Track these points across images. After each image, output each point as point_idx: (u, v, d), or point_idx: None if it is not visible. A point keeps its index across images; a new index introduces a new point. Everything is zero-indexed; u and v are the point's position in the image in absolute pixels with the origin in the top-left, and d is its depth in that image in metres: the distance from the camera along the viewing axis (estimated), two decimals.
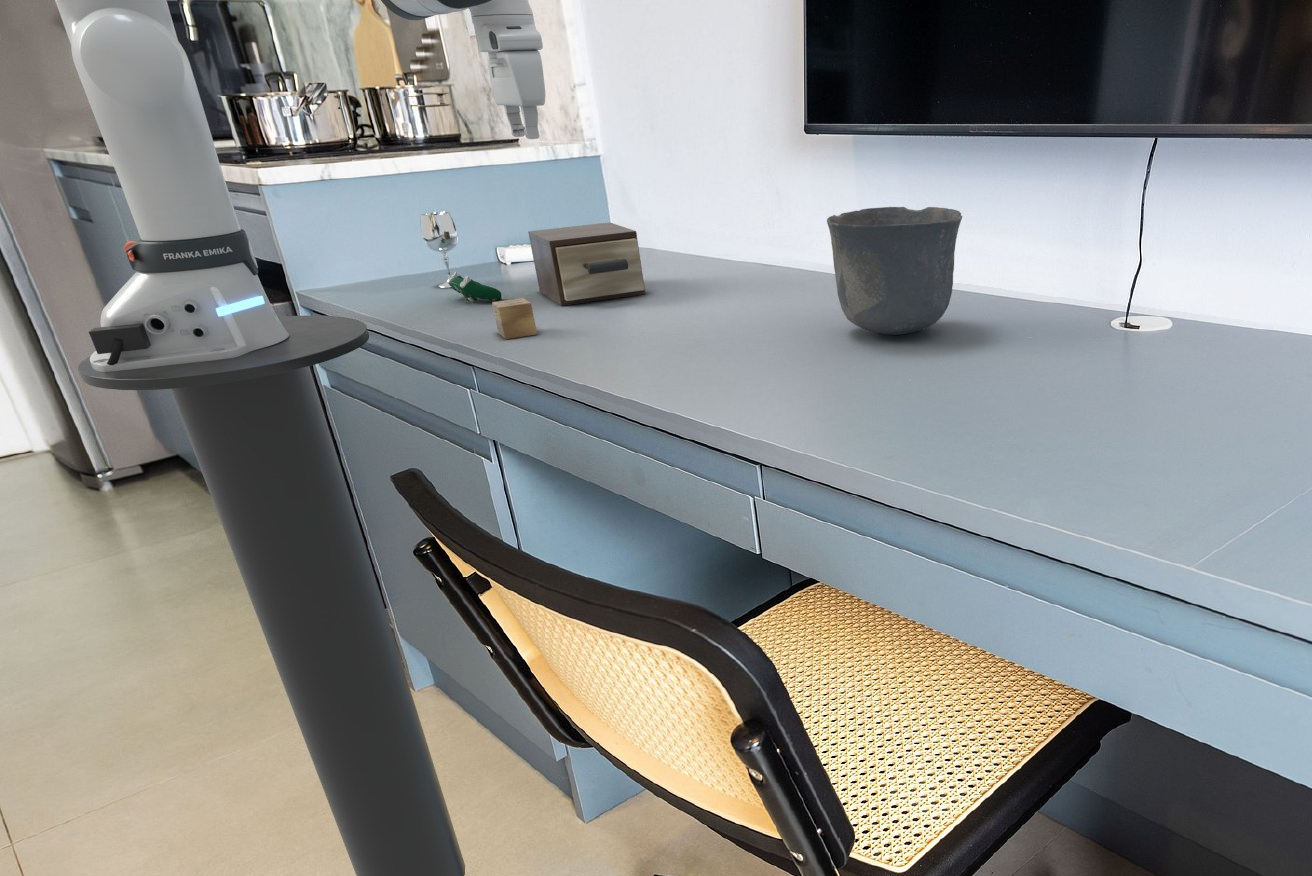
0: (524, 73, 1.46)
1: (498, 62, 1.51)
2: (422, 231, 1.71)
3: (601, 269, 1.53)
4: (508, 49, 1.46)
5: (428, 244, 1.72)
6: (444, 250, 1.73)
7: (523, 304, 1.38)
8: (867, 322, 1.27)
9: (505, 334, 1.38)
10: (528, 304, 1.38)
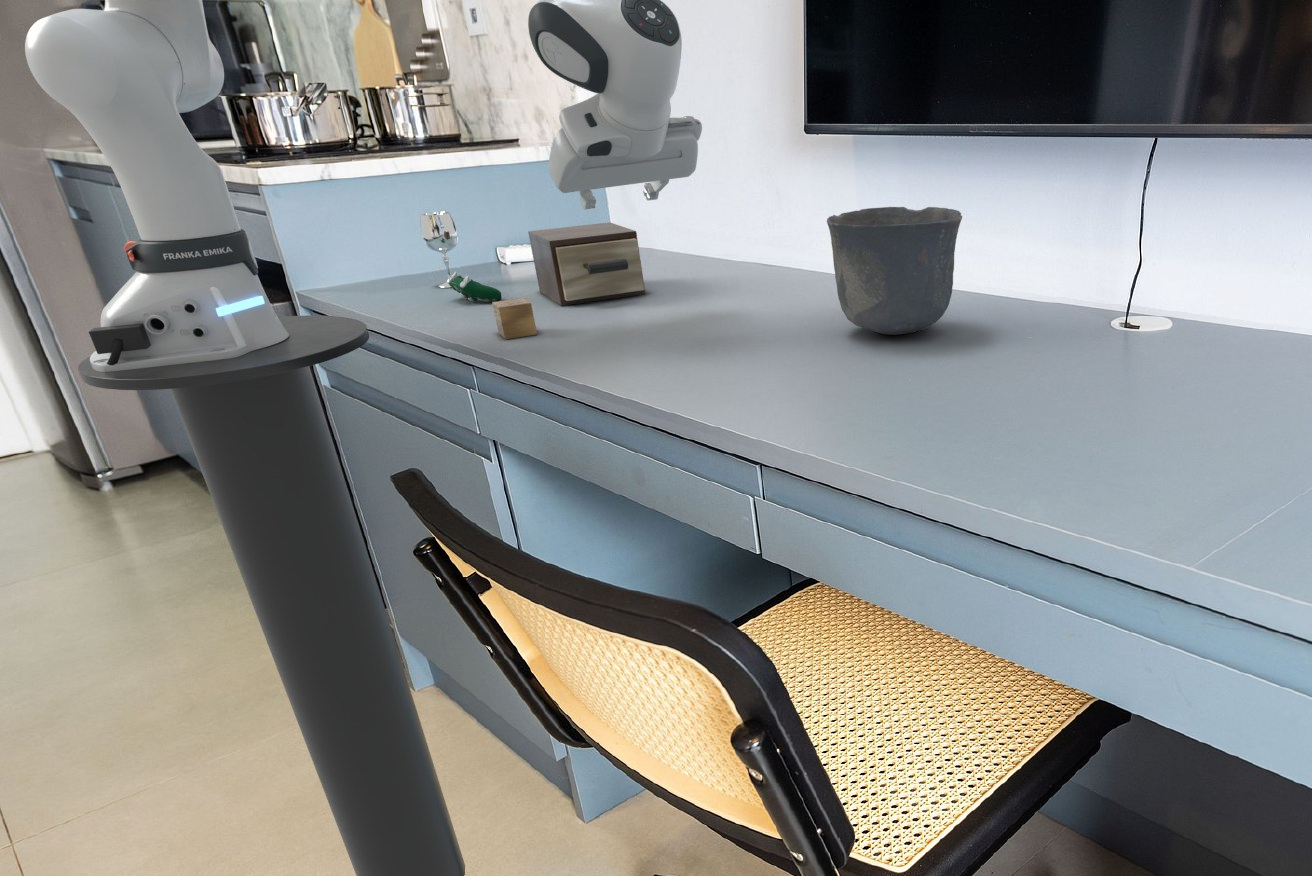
0: (554, 156, 1.29)
1: None
2: (422, 231, 1.71)
3: (601, 269, 1.53)
4: None
5: (428, 244, 1.72)
6: (444, 250, 1.73)
7: (523, 304, 1.38)
8: (867, 322, 1.27)
9: (505, 334, 1.38)
10: (528, 304, 1.38)
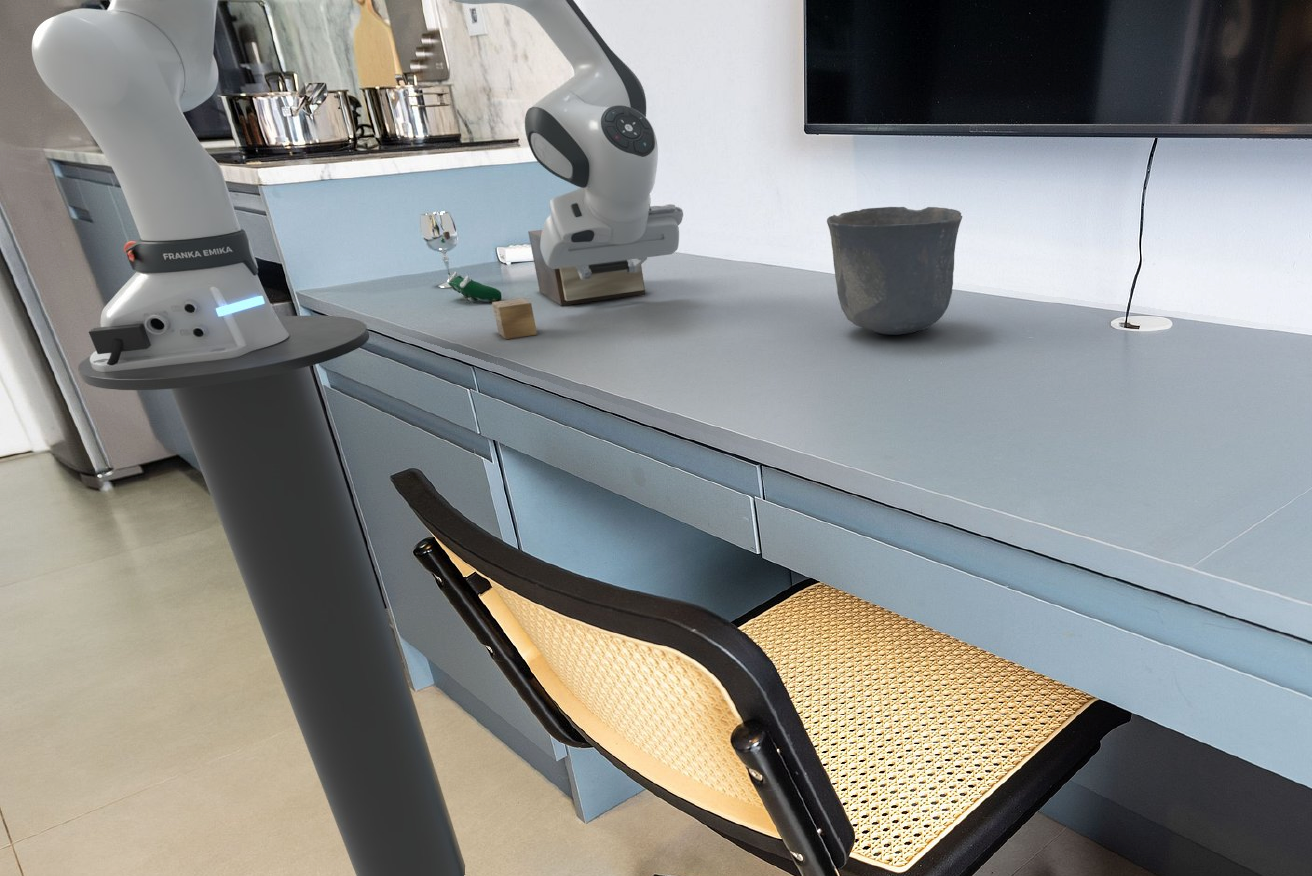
0: (544, 238, 1.43)
1: None
2: (422, 231, 1.71)
3: (601, 269, 1.53)
4: None
5: (428, 244, 1.72)
6: (444, 250, 1.73)
7: (523, 304, 1.38)
8: (867, 322, 1.27)
9: (505, 334, 1.38)
10: (528, 304, 1.38)
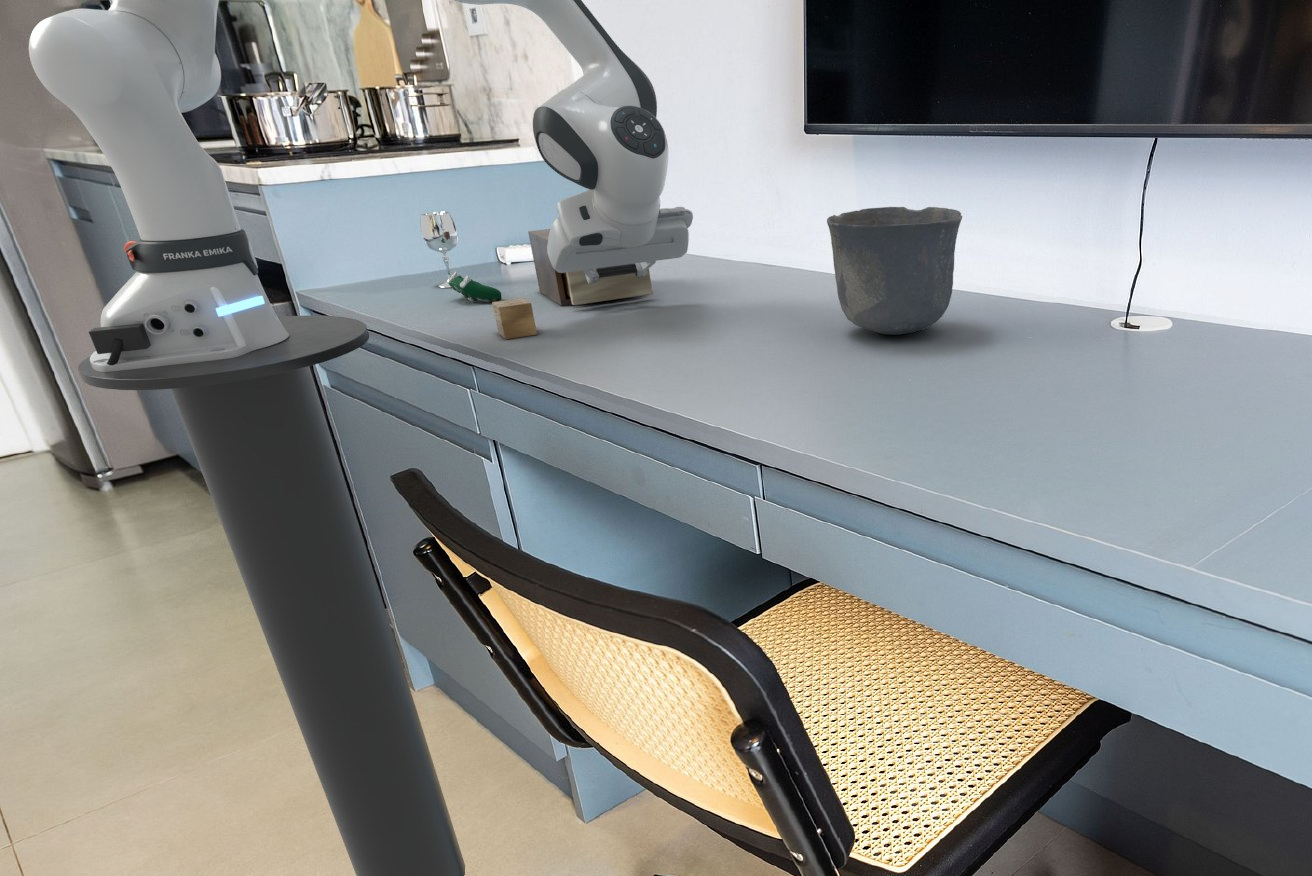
0: (551, 241, 1.39)
1: None
2: (422, 231, 1.71)
3: (609, 273, 1.50)
4: None
5: (428, 244, 1.72)
6: (444, 250, 1.73)
7: (523, 304, 1.38)
8: (867, 322, 1.27)
9: (505, 334, 1.38)
10: (528, 304, 1.38)
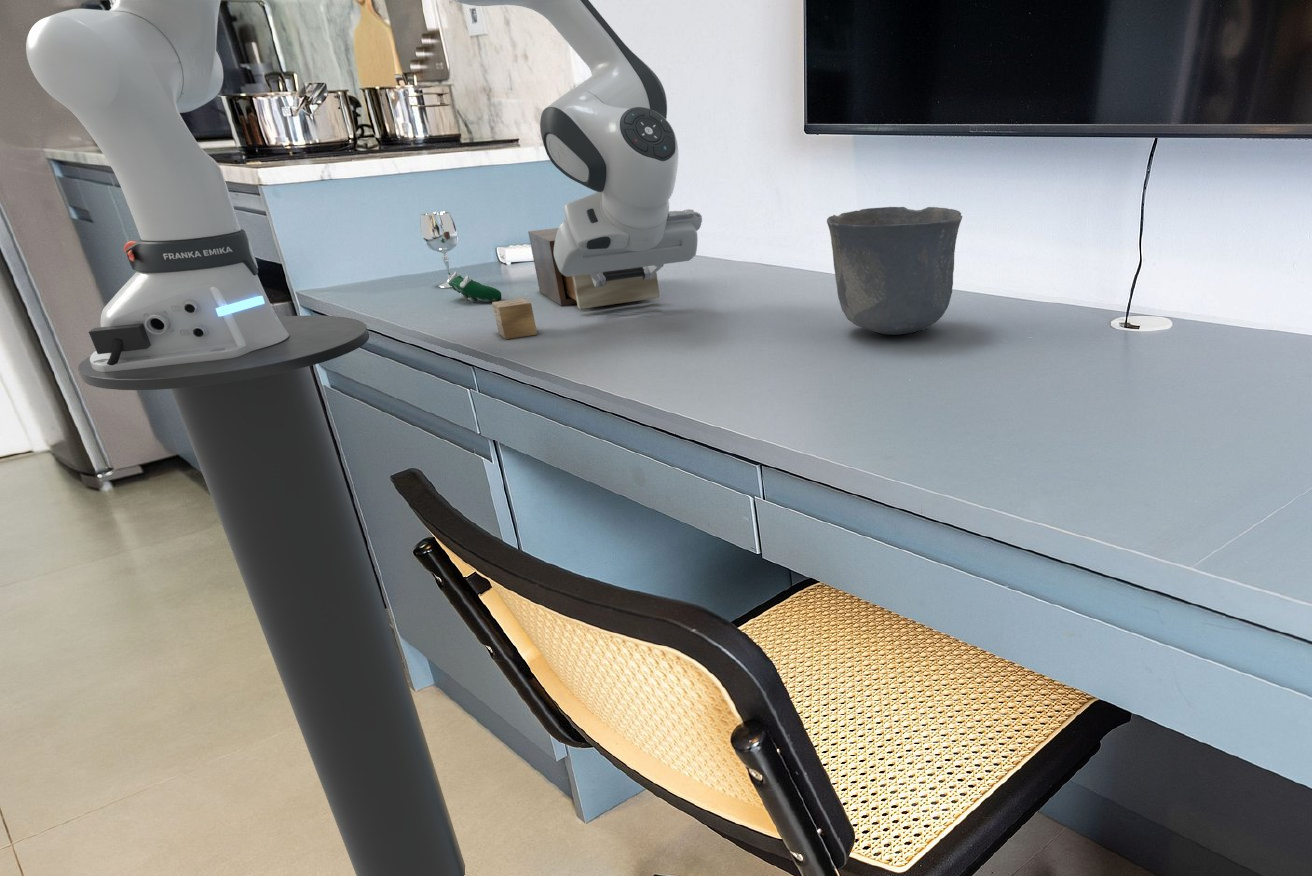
0: (558, 244, 1.37)
1: None
2: (422, 231, 1.71)
3: (616, 276, 1.47)
4: None
5: (428, 244, 1.72)
6: (444, 250, 1.73)
7: (523, 304, 1.38)
8: (867, 322, 1.27)
9: (505, 334, 1.38)
10: (528, 304, 1.38)
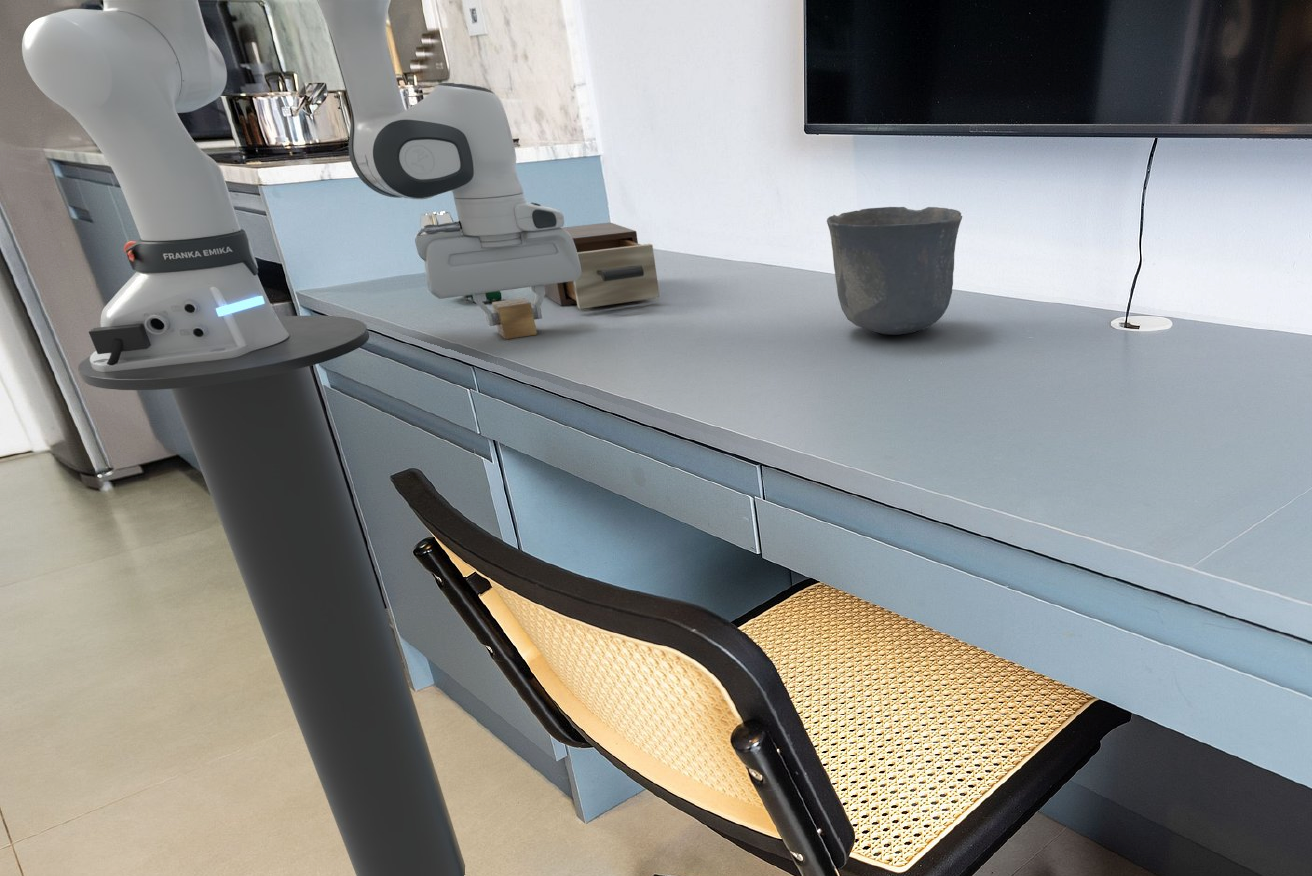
0: None
1: (518, 243, 1.35)
2: None
3: (616, 276, 1.47)
4: None
5: None
6: None
7: (523, 304, 1.38)
8: (867, 322, 1.27)
9: (505, 334, 1.38)
10: (528, 304, 1.38)
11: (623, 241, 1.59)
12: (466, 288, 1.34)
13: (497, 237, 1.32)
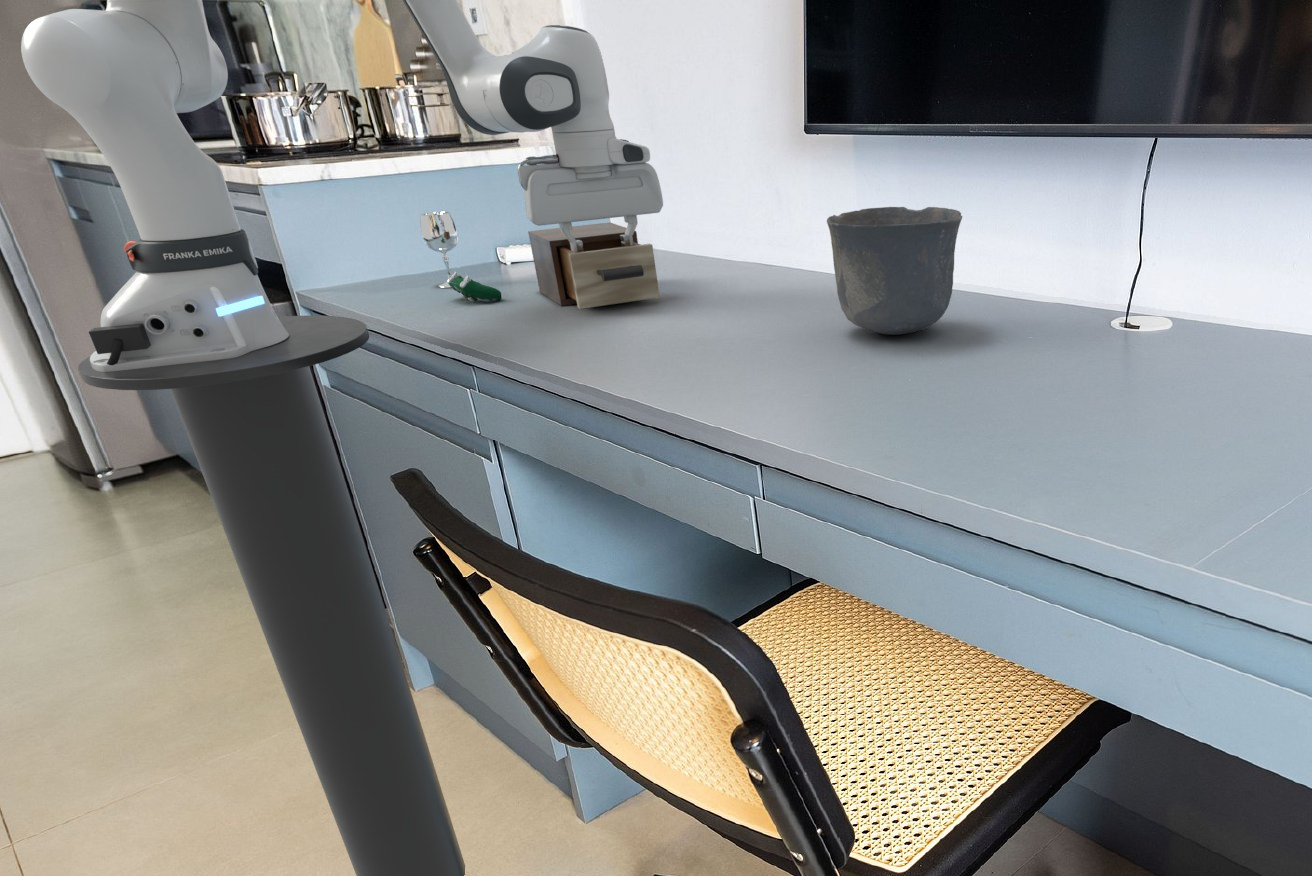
0: None
1: (608, 175, 1.47)
2: (422, 231, 1.71)
3: (616, 276, 1.47)
4: None
5: (428, 244, 1.72)
6: (444, 250, 1.73)
7: None
8: (867, 322, 1.27)
9: None
10: None
11: None
12: (562, 216, 1.47)
13: (591, 169, 1.45)
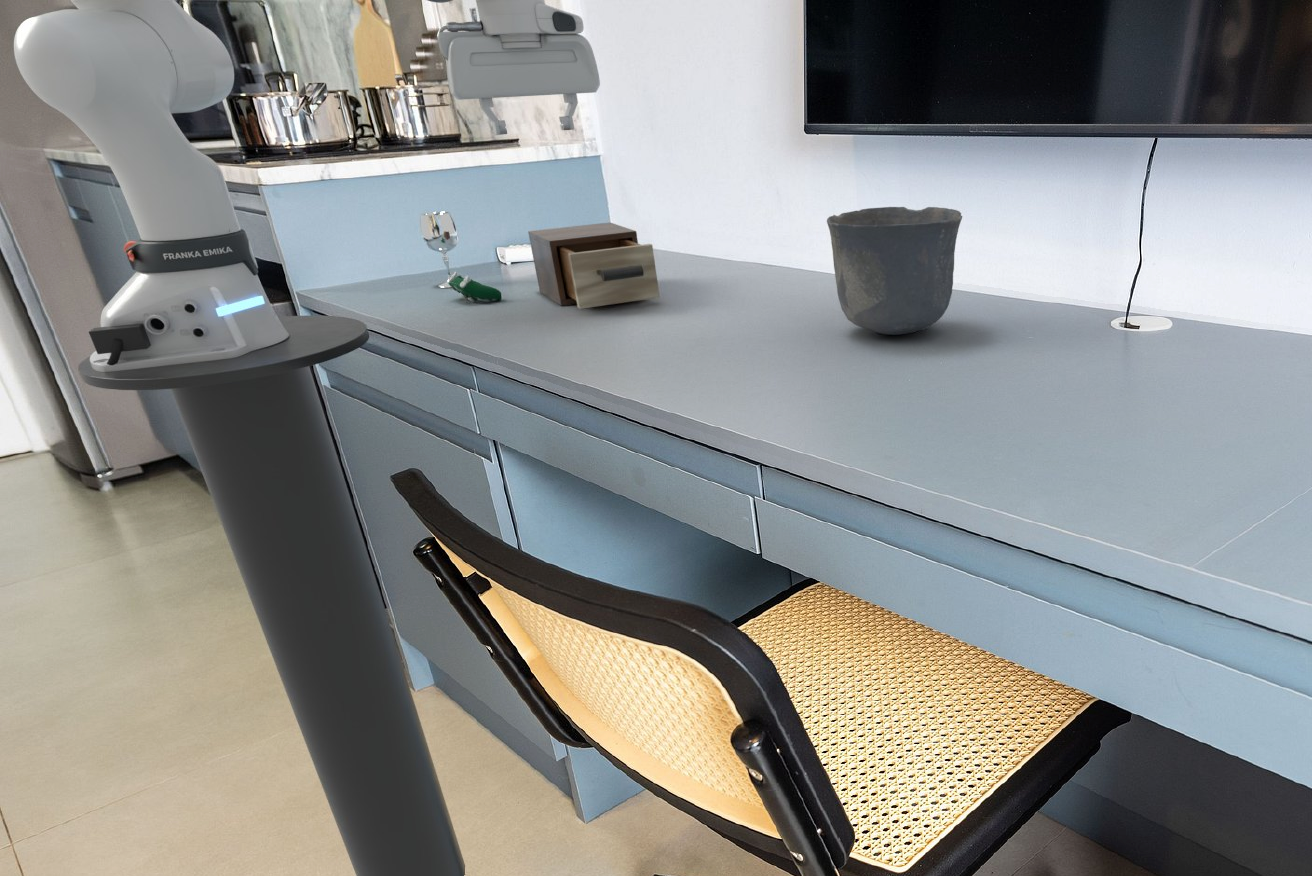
0: None
1: (538, 46, 1.36)
2: (422, 231, 1.71)
3: (616, 276, 1.47)
4: None
5: (428, 244, 1.72)
6: (444, 250, 1.73)
7: None
8: (867, 322, 1.27)
9: None
10: None
11: (623, 241, 1.59)
12: (487, 90, 1.36)
13: (518, 37, 1.34)
